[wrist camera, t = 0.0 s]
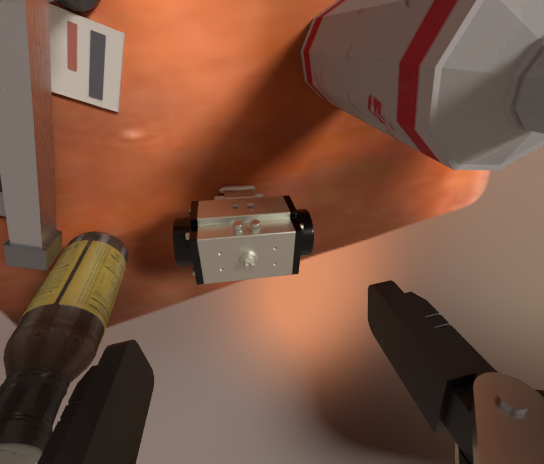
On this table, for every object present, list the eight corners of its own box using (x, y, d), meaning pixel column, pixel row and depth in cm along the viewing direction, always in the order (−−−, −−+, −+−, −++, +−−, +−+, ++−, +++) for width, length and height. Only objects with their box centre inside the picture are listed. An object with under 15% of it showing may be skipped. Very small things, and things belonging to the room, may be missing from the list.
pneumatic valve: (287, 211, 34) (317, 281, 24) (188, 218, 32) (177, 297, 22) (289, 168, 31) (326, 228, 21) (180, 173, 29) (164, 241, 19)
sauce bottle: (73, 269, 33) (-58, 488, 17) (66, 225, 30) (-106, 445, 14) (132, 272, 35) (64, 473, 19) (132, 232, 31) (48, 432, 15)
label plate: (49, 3, 20) (45, 2, 20) (125, 33, 22) (123, 33, 21) (52, 90, 23) (49, 91, 22) (119, 111, 24) (117, 112, 24)
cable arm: (-22, -110, 13) (-75, -144, 11) (66, -67, 14) (37, -89, 12) (19, 241, 23) (-3, 265, 21) (69, 249, 25) (53, 272, 22)
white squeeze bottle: (393, 7, 24) (1419, -175, 4) (369, 102, 28) (781, 263, 8) (306, -5, 22) (1228, -437, 2) (294, 97, 26) (563, 282, 6)
